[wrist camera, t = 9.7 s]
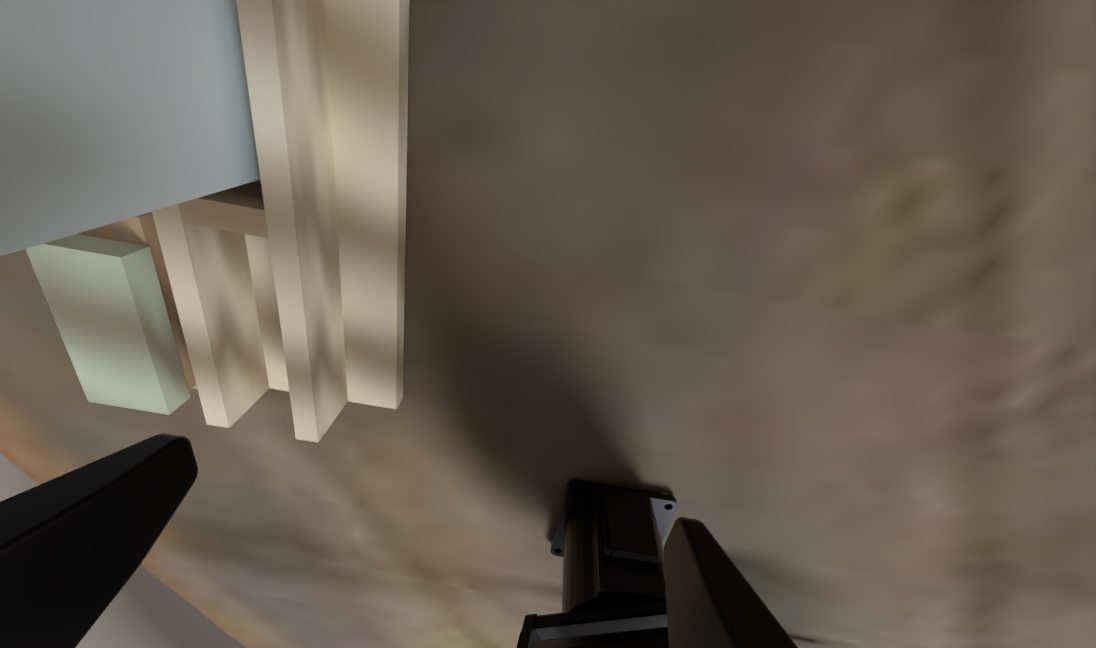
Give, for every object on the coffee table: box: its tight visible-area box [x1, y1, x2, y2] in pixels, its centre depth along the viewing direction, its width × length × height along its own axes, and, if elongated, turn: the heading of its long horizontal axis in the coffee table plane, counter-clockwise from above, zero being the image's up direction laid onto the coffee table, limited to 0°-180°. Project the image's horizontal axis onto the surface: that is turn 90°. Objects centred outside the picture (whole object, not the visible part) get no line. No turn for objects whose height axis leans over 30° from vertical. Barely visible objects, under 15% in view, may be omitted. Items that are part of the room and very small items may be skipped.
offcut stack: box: [26, 212, 198, 415], centre depth 19 cm, size 9×4×4 cm, turn 170°
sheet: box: [0, 0, 260, 255], centre depth 11 cm, size 8×2×10 cm, turn 170°
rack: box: [152, 0, 409, 442], centre depth 17 cm, size 20×14×4 cm
